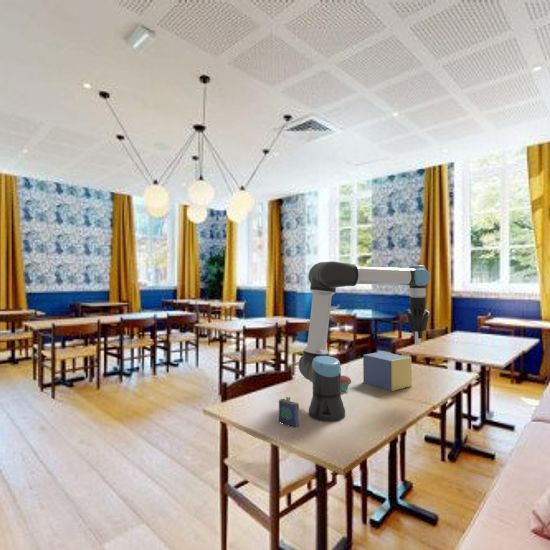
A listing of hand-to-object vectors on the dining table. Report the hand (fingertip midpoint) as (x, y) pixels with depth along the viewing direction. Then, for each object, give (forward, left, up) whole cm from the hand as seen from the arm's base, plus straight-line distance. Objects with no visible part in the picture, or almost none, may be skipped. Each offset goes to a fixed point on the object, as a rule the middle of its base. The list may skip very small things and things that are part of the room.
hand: (417, 344), depth 185 cm
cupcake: (-26, +26, -24) cm, 44 cm away
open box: (0, +20, -24) cm, 31 cm away
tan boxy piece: (0, +18, -24) cm, 30 cm away
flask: (-75, +5, -24) cm, 79 cm away
